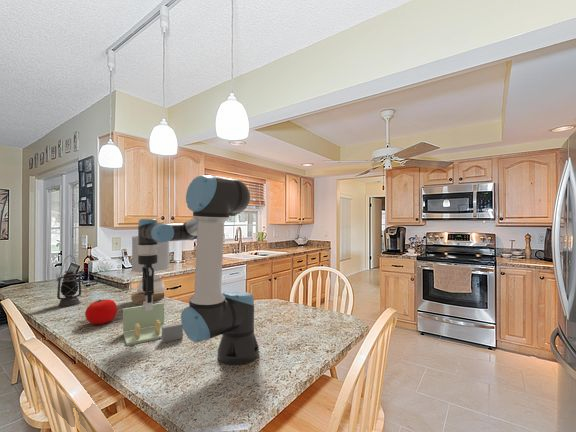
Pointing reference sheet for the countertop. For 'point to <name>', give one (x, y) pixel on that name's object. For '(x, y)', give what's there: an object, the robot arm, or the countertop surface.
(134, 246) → the lamp
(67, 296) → the lantern
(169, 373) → the countertop surface
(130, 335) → the cabinet
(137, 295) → the shelf board
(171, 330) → the block
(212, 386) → the countertop surface
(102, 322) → the tomato
